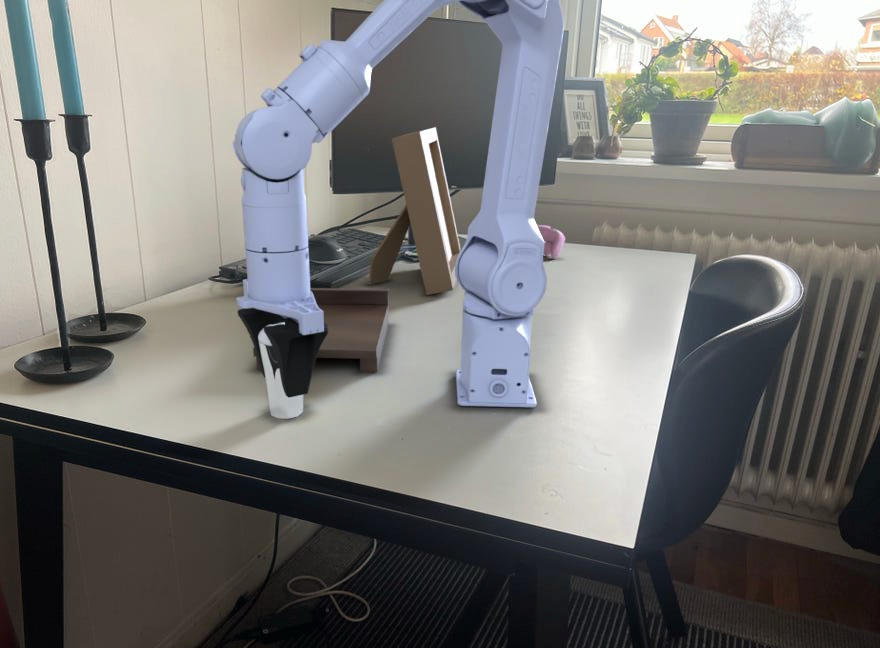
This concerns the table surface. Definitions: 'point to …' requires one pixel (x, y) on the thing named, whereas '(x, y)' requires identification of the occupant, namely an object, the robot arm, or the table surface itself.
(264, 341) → the milkshake
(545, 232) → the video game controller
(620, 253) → the table surface
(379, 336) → the shelf
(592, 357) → the table surface
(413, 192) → the photo frame
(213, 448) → the table surface
